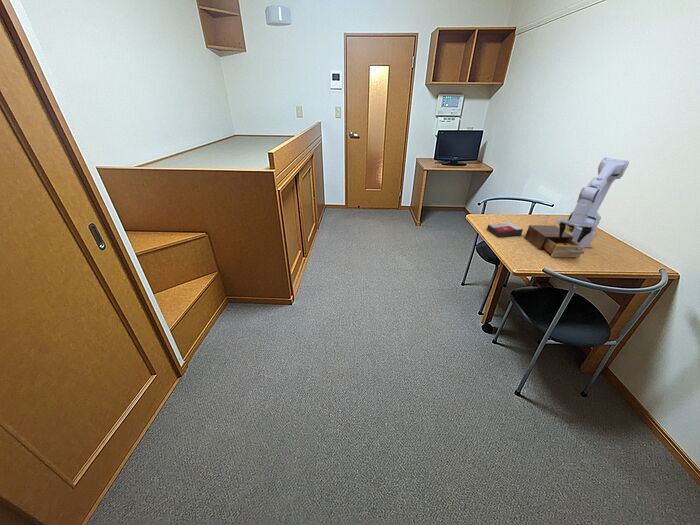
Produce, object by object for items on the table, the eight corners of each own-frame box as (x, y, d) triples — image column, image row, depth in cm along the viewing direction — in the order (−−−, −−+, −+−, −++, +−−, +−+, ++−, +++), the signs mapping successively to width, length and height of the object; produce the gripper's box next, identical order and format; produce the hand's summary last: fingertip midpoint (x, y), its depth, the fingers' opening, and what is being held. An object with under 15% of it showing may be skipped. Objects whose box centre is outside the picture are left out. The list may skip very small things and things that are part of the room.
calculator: (487, 223, 169) (510, 220, 172) (486, 230, 172) (508, 227, 174) (500, 231, 160) (523, 228, 163) (498, 238, 162) (521, 235, 165)
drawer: (586, 262, 139) (591, 251, 136) (559, 261, 138) (564, 251, 135) (561, 244, 155) (565, 234, 152) (536, 244, 154) (540, 234, 151)
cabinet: (567, 250, 151) (573, 237, 147) (540, 250, 150) (545, 236, 147) (549, 238, 164) (555, 225, 160) (524, 237, 163) (529, 225, 159)
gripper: (563, 213, 134) (552, 239, 141) (601, 219, 128) (588, 246, 135) (561, 208, 139) (550, 234, 146) (598, 214, 134) (585, 240, 141)
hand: (568, 240), depth 141 cm, fingers open, 7 cm apart
